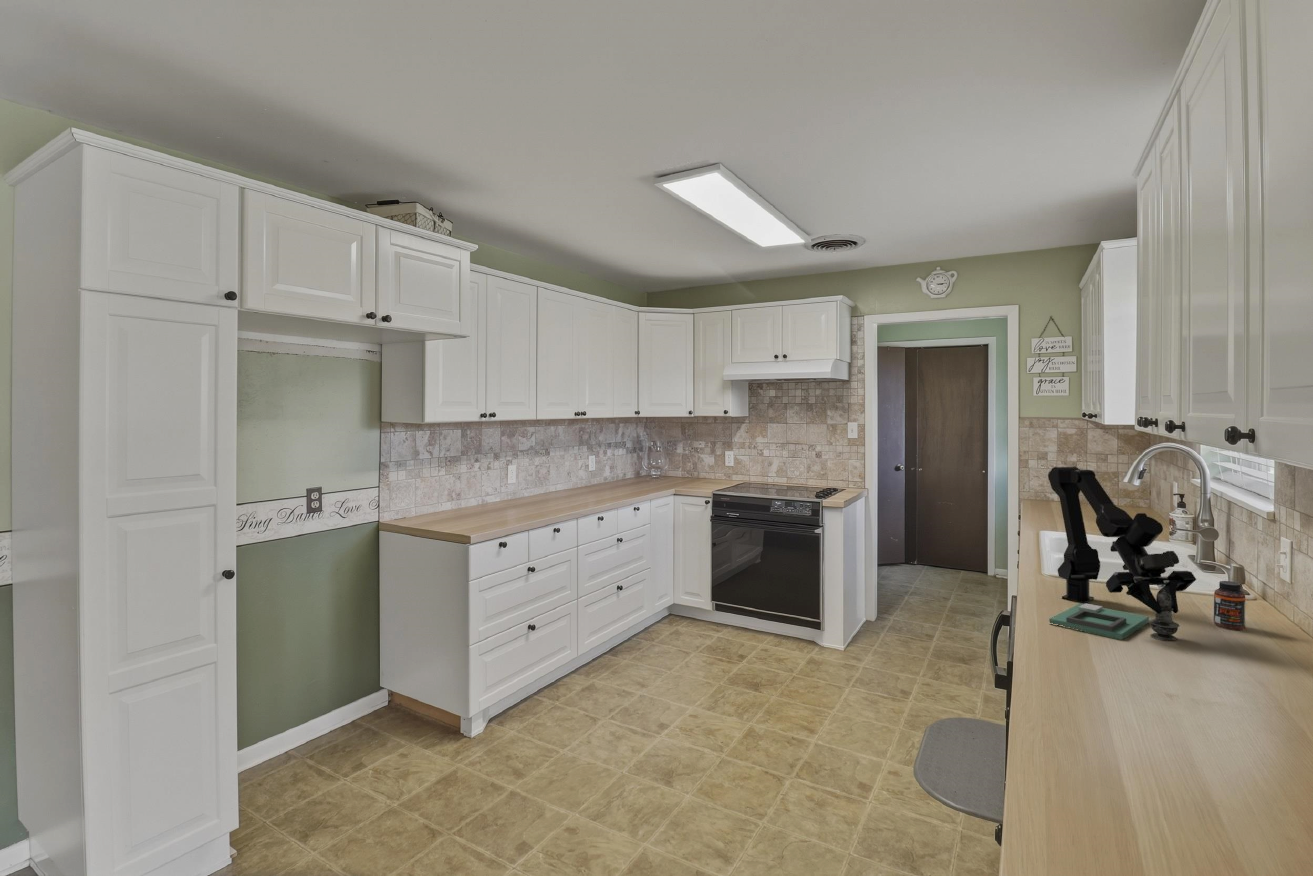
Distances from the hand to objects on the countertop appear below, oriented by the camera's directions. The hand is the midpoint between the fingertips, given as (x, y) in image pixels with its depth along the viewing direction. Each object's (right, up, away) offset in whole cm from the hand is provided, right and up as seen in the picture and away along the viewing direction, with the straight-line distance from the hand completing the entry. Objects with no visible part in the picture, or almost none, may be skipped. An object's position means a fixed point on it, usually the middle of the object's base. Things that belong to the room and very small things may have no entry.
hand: (1168, 612), depth 155 cm
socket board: (-7, -6, +13) cm, 17 cm away
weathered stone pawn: (0, -7, +2) cm, 7 cm away
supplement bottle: (+22, -6, +8) cm, 24 cm away
